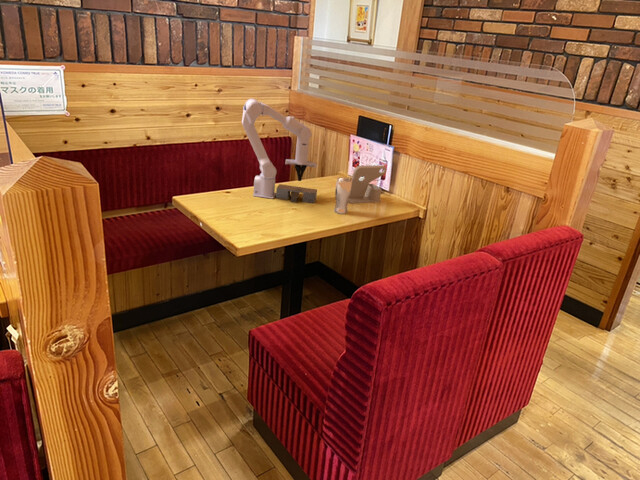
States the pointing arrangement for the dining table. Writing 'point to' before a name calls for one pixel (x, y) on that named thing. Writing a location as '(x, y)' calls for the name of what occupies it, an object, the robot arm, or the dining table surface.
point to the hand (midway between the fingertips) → (299, 180)
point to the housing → (285, 190)
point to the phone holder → (366, 184)
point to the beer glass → (342, 194)
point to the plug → (294, 196)
